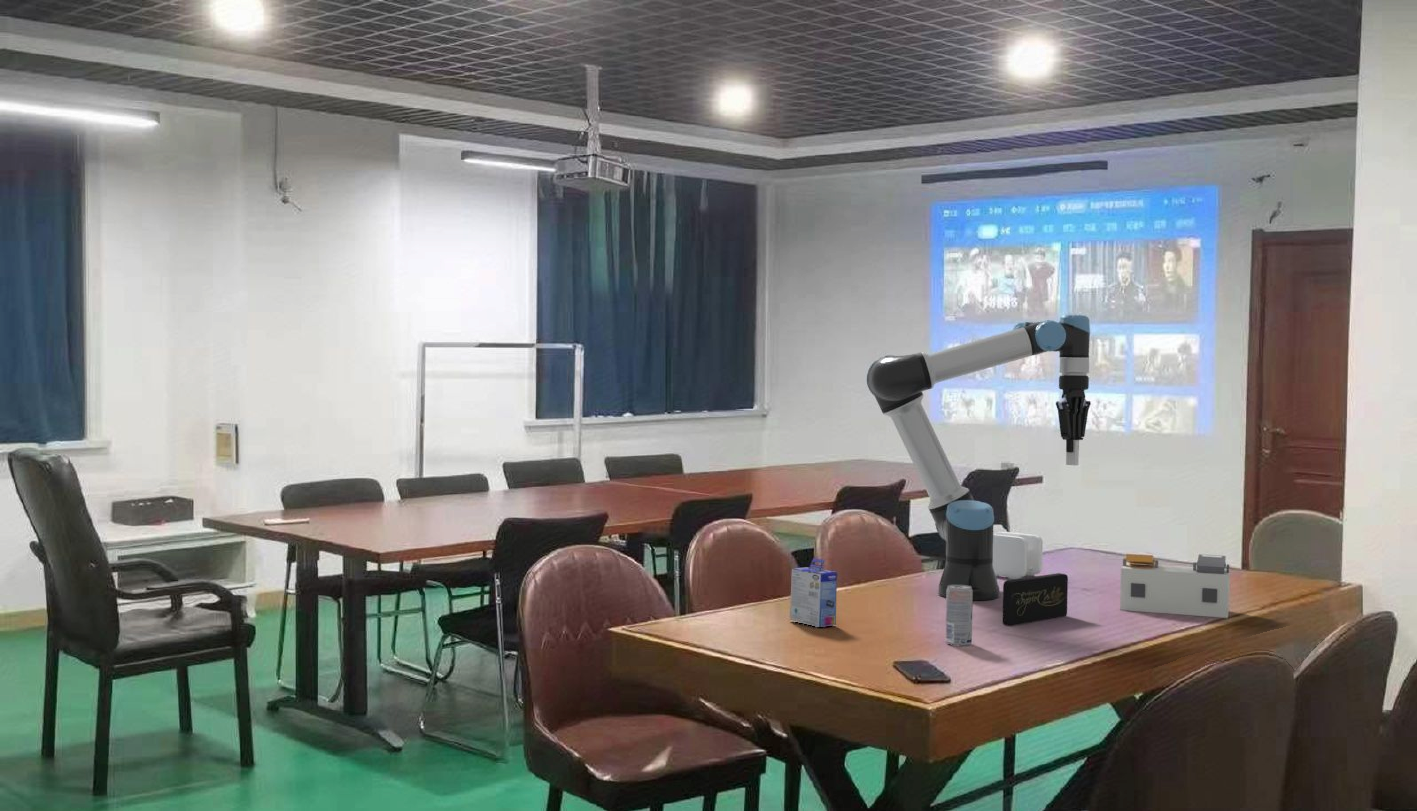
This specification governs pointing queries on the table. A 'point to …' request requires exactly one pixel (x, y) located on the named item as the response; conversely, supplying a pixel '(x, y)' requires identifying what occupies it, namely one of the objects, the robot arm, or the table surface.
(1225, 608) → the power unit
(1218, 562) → the rocker charcoal
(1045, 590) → the nameplate
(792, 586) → the ink cartridge box
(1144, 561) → the rocker orange
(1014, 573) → the cable organizer
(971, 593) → the energy drink
